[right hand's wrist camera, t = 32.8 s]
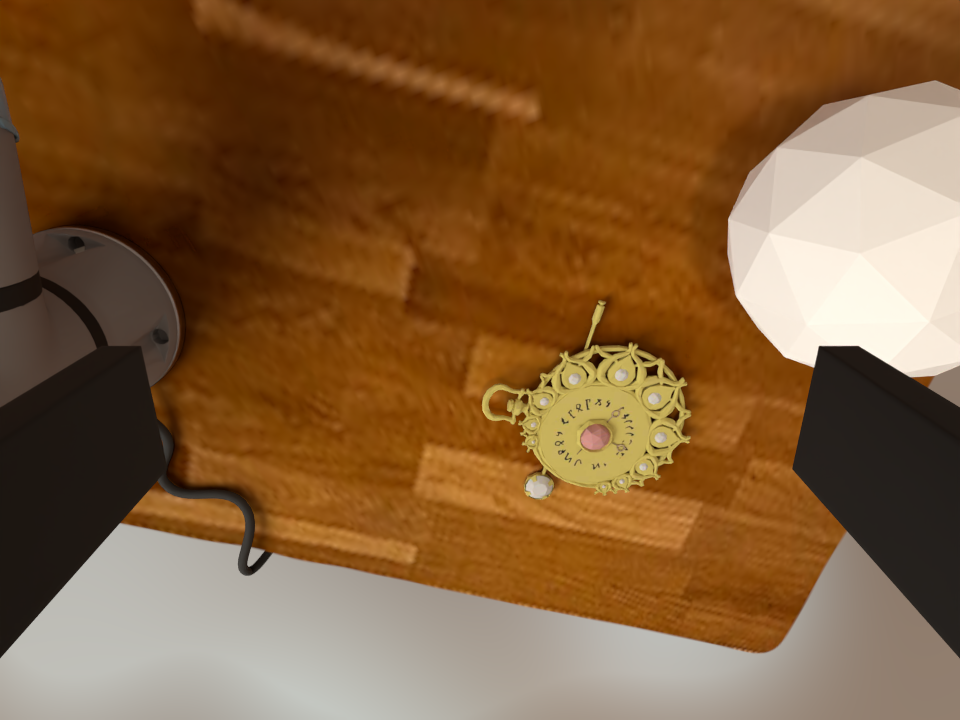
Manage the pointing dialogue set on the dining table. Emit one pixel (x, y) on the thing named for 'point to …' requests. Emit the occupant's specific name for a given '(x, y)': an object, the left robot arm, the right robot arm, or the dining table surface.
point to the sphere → (858, 232)
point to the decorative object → (598, 419)
